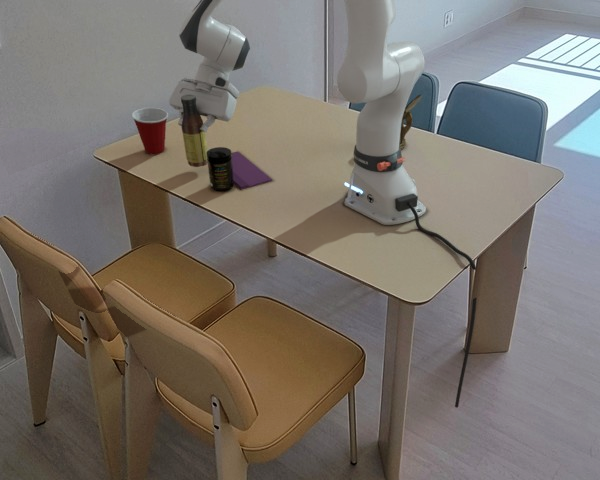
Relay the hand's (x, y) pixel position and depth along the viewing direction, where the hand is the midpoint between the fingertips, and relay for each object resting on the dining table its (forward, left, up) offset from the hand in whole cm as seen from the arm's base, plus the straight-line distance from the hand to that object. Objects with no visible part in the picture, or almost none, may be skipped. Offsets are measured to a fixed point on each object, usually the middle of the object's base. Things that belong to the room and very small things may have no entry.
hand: (191, 128), depth 182 cm
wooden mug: (-17, -59, -14) cm, 63 cm away
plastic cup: (+21, +5, -14) cm, 25 cm away
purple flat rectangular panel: (-5, -11, -13) cm, 18 cm away
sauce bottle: (0, -1, -11) cm, 11 cm away
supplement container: (-12, -2, -14) cm, 18 cm away
